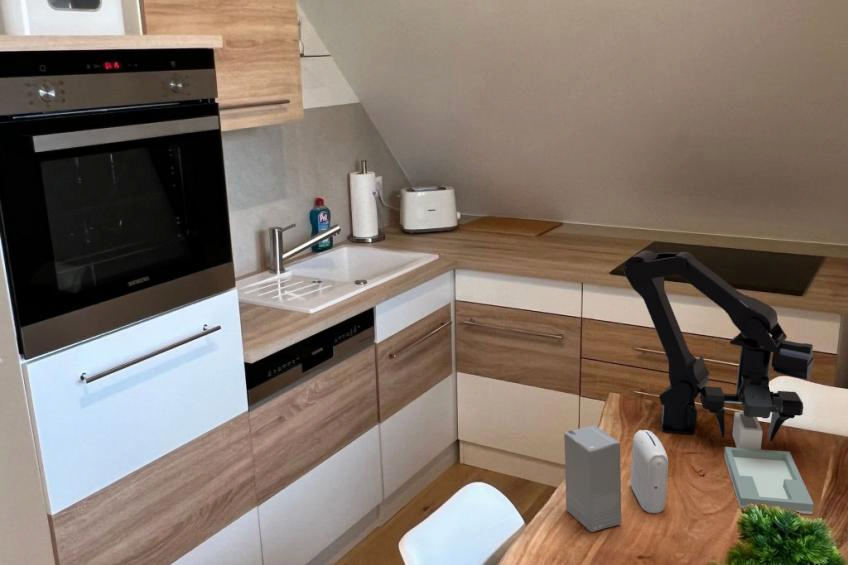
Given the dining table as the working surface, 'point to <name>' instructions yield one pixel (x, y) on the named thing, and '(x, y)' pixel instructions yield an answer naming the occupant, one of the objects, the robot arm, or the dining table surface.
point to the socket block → (747, 432)
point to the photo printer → (649, 471)
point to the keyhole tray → (767, 479)
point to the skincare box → (593, 477)
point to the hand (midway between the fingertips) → (746, 438)
